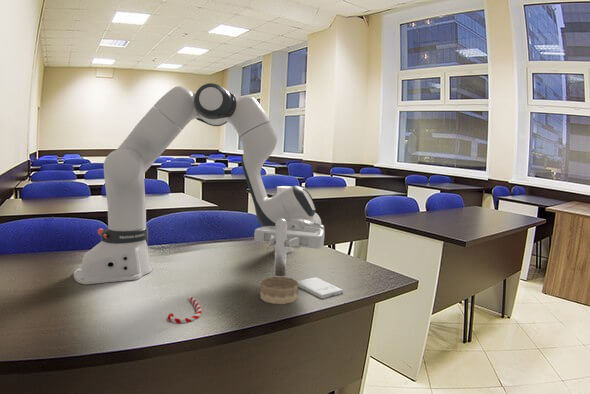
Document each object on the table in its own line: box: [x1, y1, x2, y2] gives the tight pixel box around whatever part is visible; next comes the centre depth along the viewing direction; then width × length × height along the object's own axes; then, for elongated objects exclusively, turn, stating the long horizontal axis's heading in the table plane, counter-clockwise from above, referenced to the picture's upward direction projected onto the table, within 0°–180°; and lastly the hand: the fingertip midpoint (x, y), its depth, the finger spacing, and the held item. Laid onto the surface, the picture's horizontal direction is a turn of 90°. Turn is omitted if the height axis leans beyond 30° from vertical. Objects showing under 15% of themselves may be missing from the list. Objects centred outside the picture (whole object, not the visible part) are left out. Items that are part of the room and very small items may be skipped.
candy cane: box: [167, 296, 202, 324], centre depth 105 cm, size 8×1×15 cm
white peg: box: [274, 219, 288, 277], centre depth 114 cm, size 3×3×16 cm
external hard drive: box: [296, 277, 345, 299], centre depth 123 cm, size 2×8×12 cm
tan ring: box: [260, 276, 299, 305], centre depth 116 cm, size 10×10×4 cm
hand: (279, 243), depth 113 cm, fingers closed on white peg, 3 cm apart
